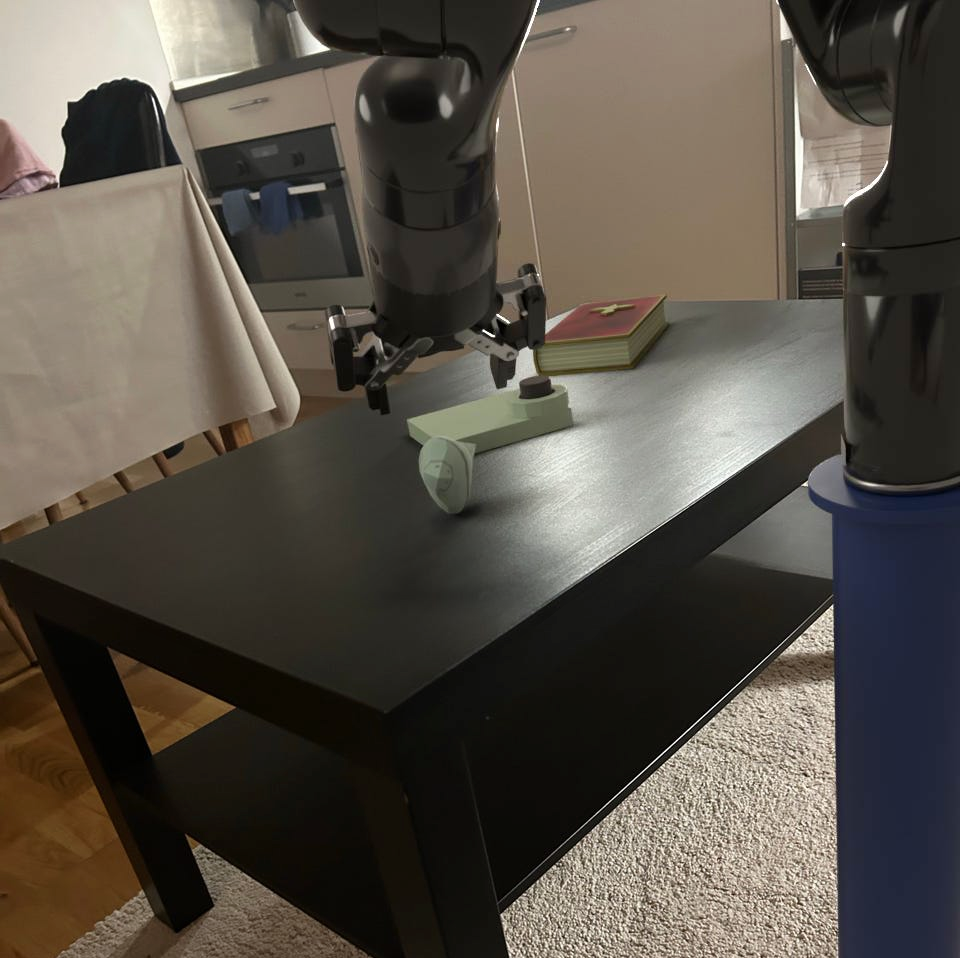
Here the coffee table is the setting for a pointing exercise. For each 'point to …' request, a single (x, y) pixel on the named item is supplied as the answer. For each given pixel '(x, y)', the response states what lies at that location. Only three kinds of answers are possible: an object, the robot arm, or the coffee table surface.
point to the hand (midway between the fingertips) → (440, 391)
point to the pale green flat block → (496, 419)
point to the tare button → (535, 387)
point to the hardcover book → (602, 336)
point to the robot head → (447, 471)
